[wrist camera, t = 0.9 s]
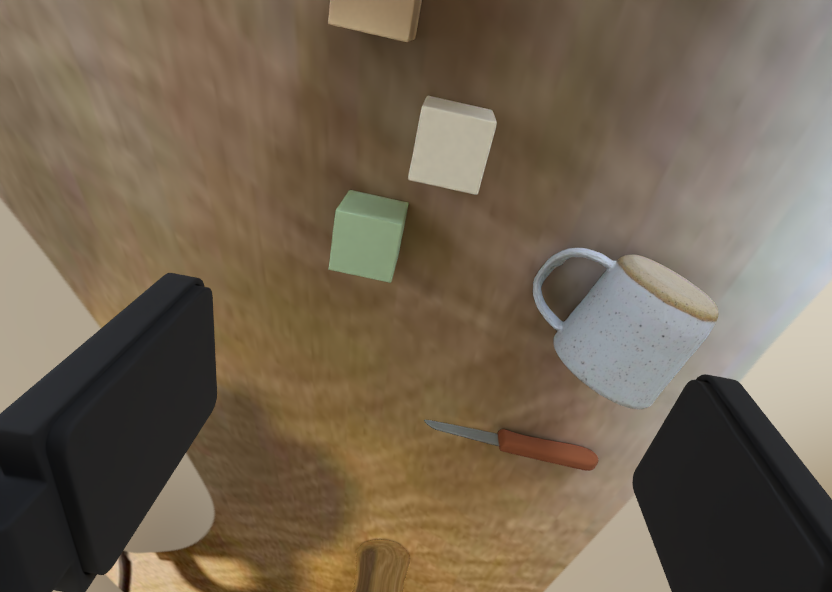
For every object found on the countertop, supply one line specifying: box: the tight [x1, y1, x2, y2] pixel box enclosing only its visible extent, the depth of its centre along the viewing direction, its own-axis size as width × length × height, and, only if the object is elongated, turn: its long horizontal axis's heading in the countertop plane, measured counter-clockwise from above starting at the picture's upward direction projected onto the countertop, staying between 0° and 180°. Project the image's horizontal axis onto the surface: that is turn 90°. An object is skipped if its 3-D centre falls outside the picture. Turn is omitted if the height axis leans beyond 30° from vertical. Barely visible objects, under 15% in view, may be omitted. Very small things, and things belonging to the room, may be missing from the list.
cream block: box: [408, 96, 497, 195], centre depth 29 cm, size 4×4×4 cm
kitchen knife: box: [424, 420, 598, 471], centre depth 42 cm, size 16×1×2 cm, turn 77°
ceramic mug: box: [533, 248, 718, 409], centre depth 32 cm, size 11×8×8 cm
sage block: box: [329, 190, 409, 283], centre depth 32 cm, size 4×4×4 cm
